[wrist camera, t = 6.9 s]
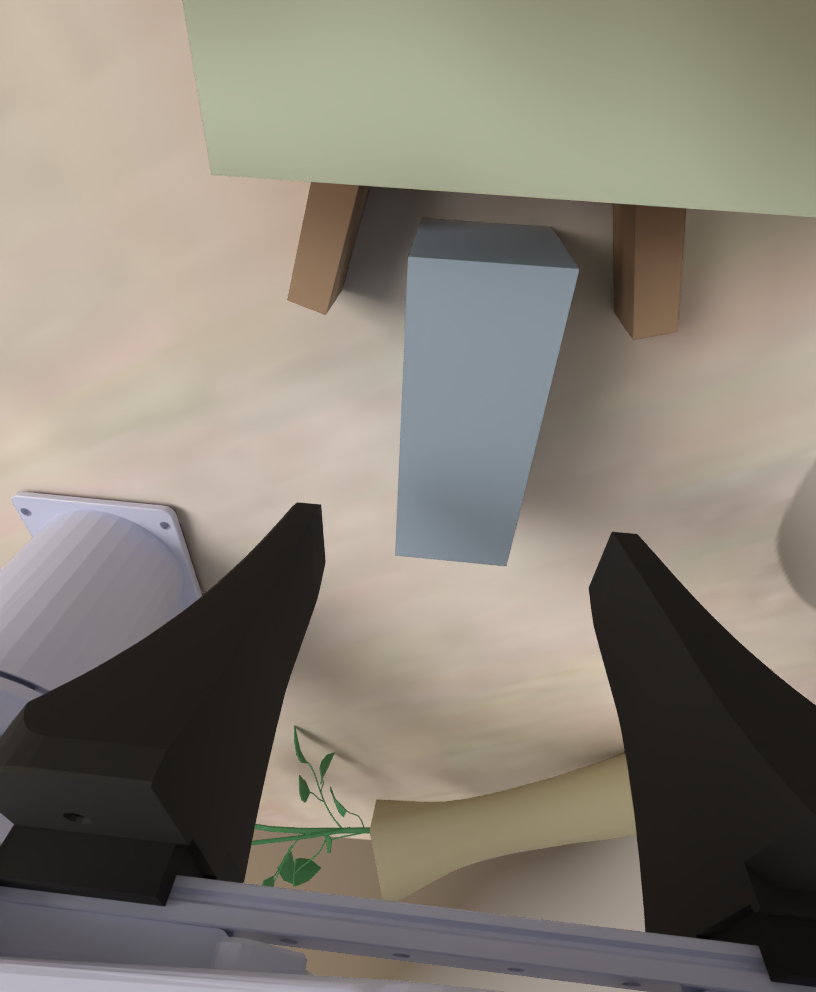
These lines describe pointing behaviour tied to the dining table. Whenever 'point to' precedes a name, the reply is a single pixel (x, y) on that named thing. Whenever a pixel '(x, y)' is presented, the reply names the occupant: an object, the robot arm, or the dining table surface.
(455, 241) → the peg
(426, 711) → the dining table surface
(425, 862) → the flower vase
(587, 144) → the awning socket
